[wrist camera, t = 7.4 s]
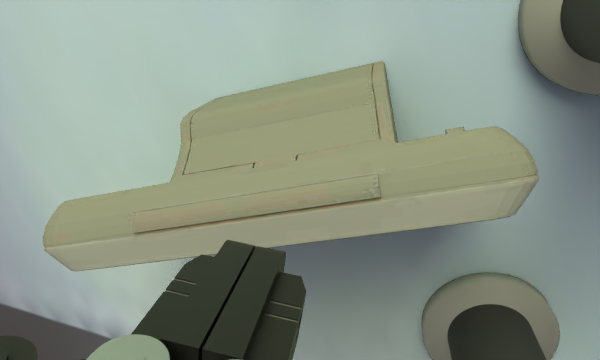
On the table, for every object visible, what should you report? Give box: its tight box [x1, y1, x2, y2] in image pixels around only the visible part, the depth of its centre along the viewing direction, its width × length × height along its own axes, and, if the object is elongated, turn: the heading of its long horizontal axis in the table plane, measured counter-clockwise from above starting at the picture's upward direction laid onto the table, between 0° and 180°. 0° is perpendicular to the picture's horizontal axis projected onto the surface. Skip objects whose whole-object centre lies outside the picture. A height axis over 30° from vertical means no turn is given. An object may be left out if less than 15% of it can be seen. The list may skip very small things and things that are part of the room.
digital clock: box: [43, 61, 539, 271], centre depth 17 cm, size 16×9×11 cm, turn 92°
